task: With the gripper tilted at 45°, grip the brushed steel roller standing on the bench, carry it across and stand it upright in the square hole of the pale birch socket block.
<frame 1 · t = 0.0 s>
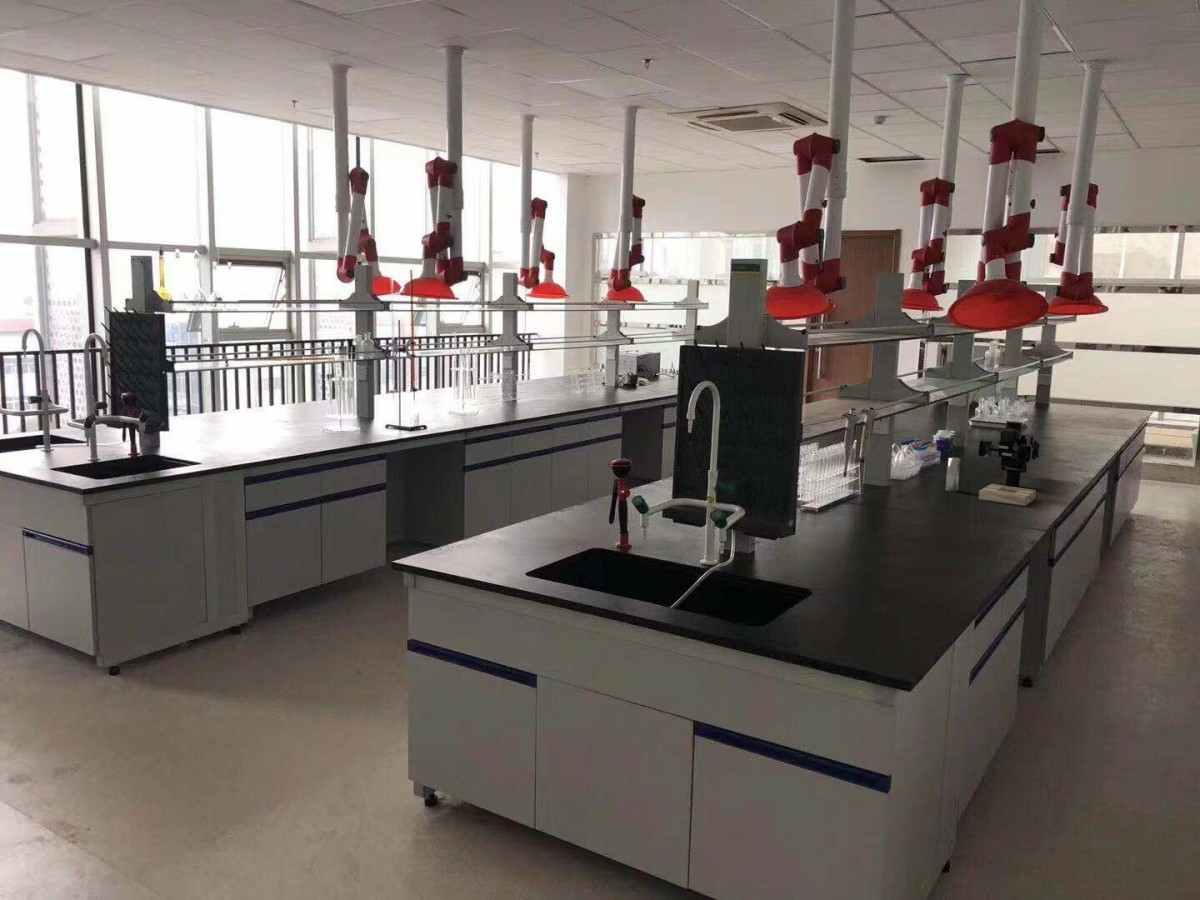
hand: (999, 453, 347), 16 cm above the worktop, fingers open, 9 cm apart
steel roller: (951, 490, 359), on the worktop
socket block: (1006, 499, 344), on the worktop
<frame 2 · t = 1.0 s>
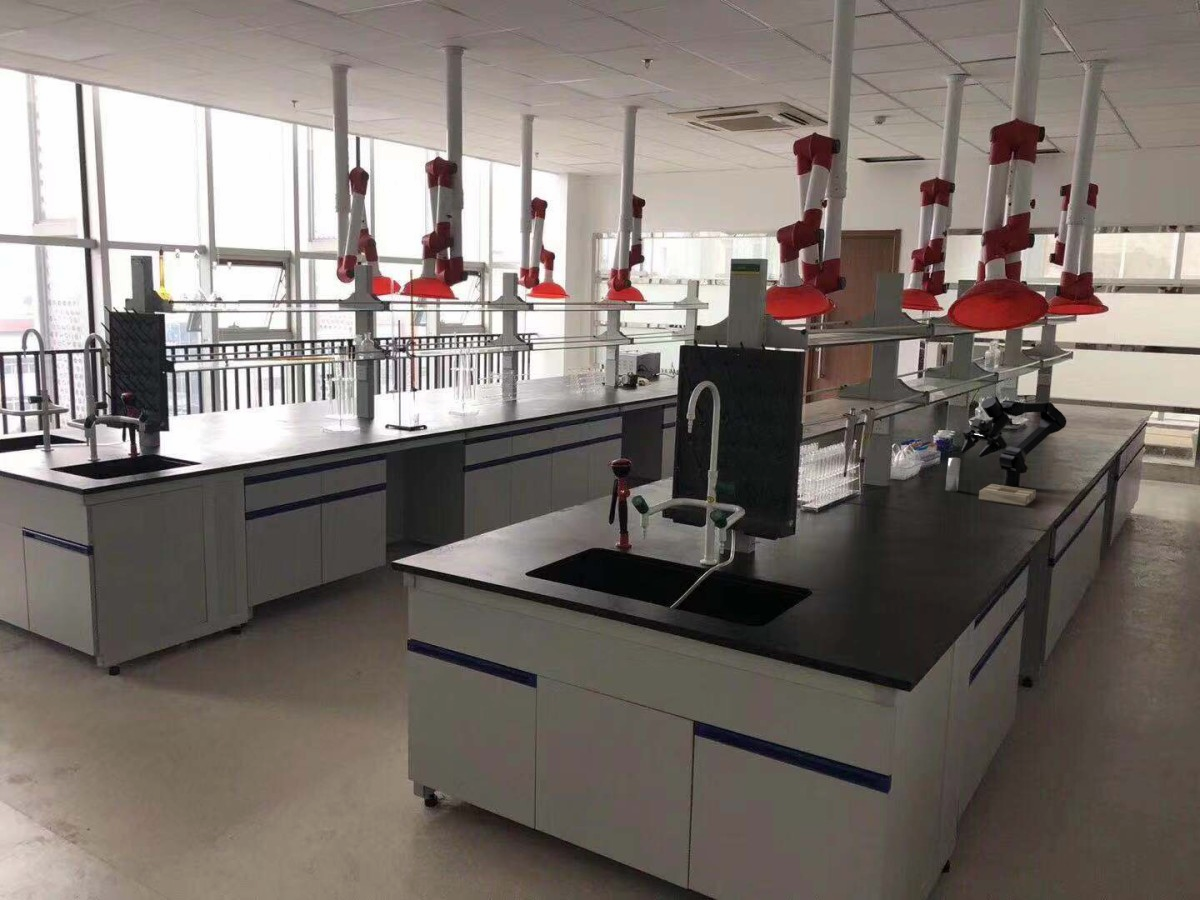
hand: (970, 454, 359), 14 cm above the worktop, fingers open, 9 cm apart
nothing on the worktop moved.
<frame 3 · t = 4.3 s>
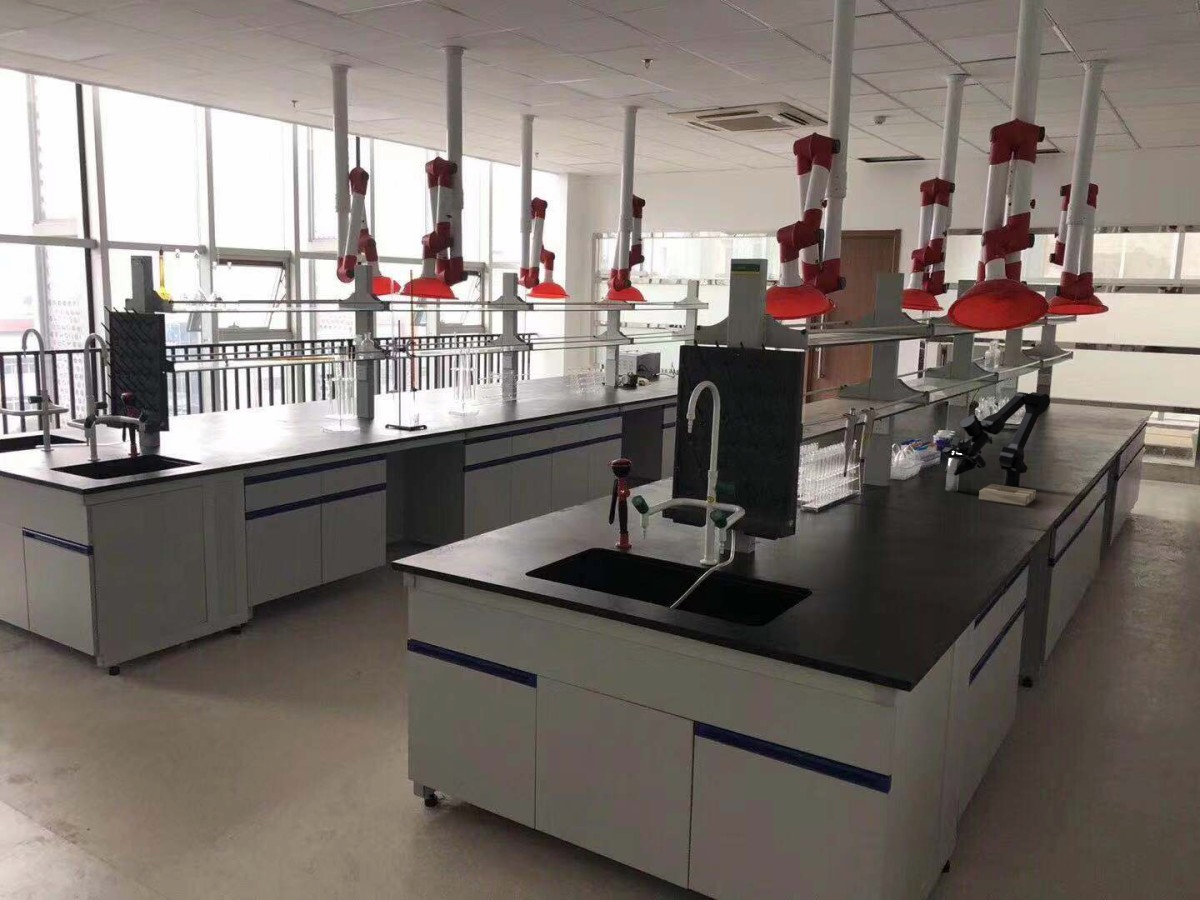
hand: (950, 473, 357), 7 cm above the worktop, fingers closed on steel roller, 4 cm apart
steel roller: (951, 490, 359), on the worktop, touching gripper
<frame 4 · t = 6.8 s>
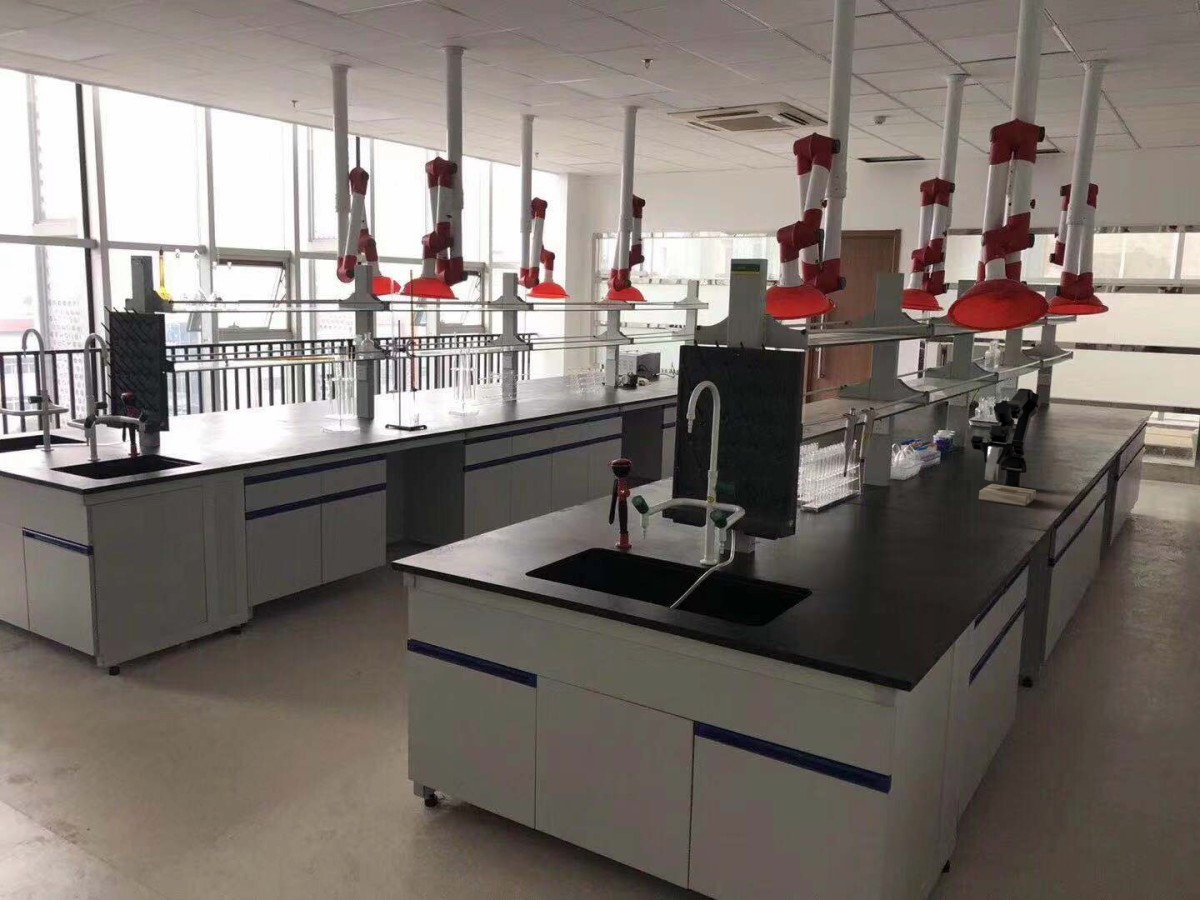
hand: (991, 462, 344), 13 cm above the worktop, fingers closed on steel roller, 4 cm apart
steel roller: (991, 479, 346), point 7 cm above the worktop, touching gripper
when the fingers open (8 cm above the worktop, at t = 9.5 s): steel roller drops 1 cm, resting on socket block.
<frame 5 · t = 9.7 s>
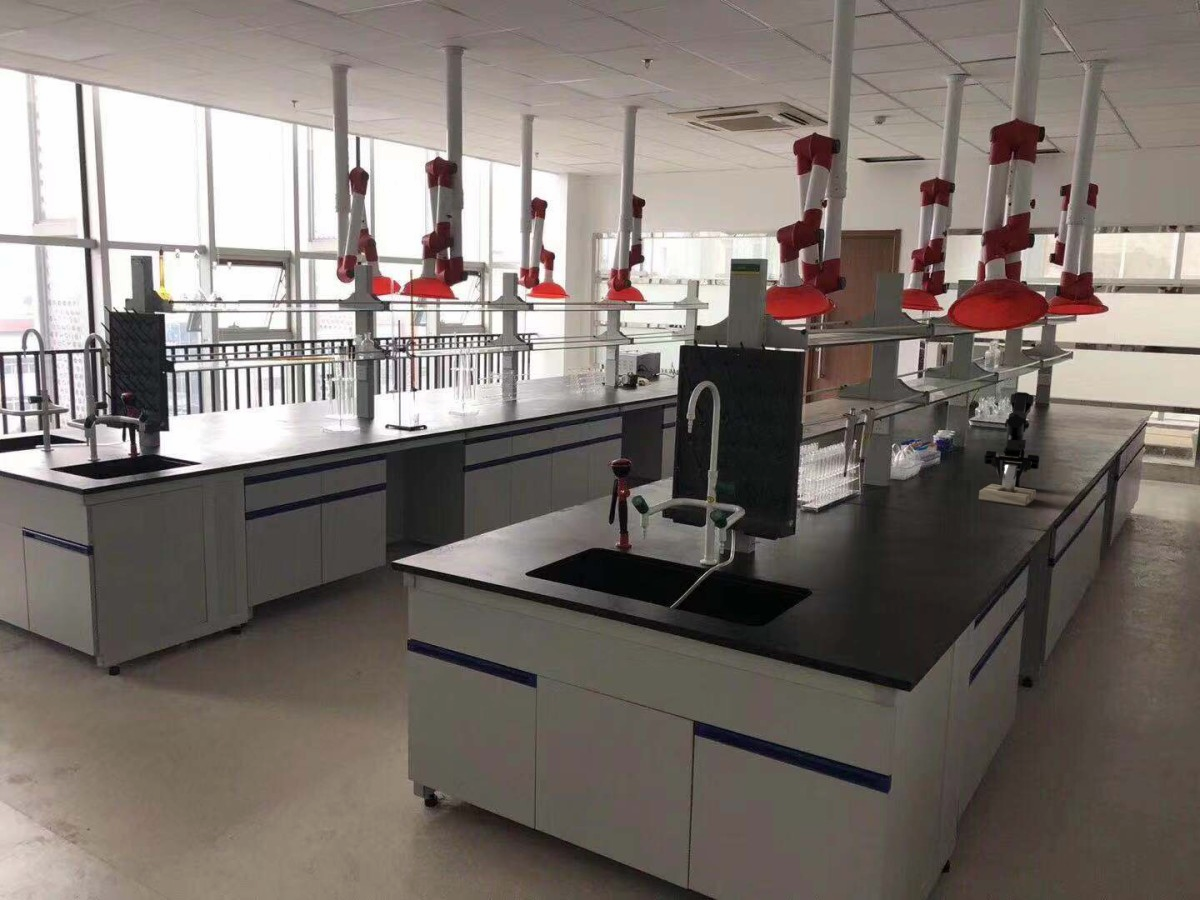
hand: (1008, 477, 342), 9 cm above the worktop, fingers open, 6 cm apart
steel roller: (1006, 498, 344), point 1 cm above the worktop, touching socket block
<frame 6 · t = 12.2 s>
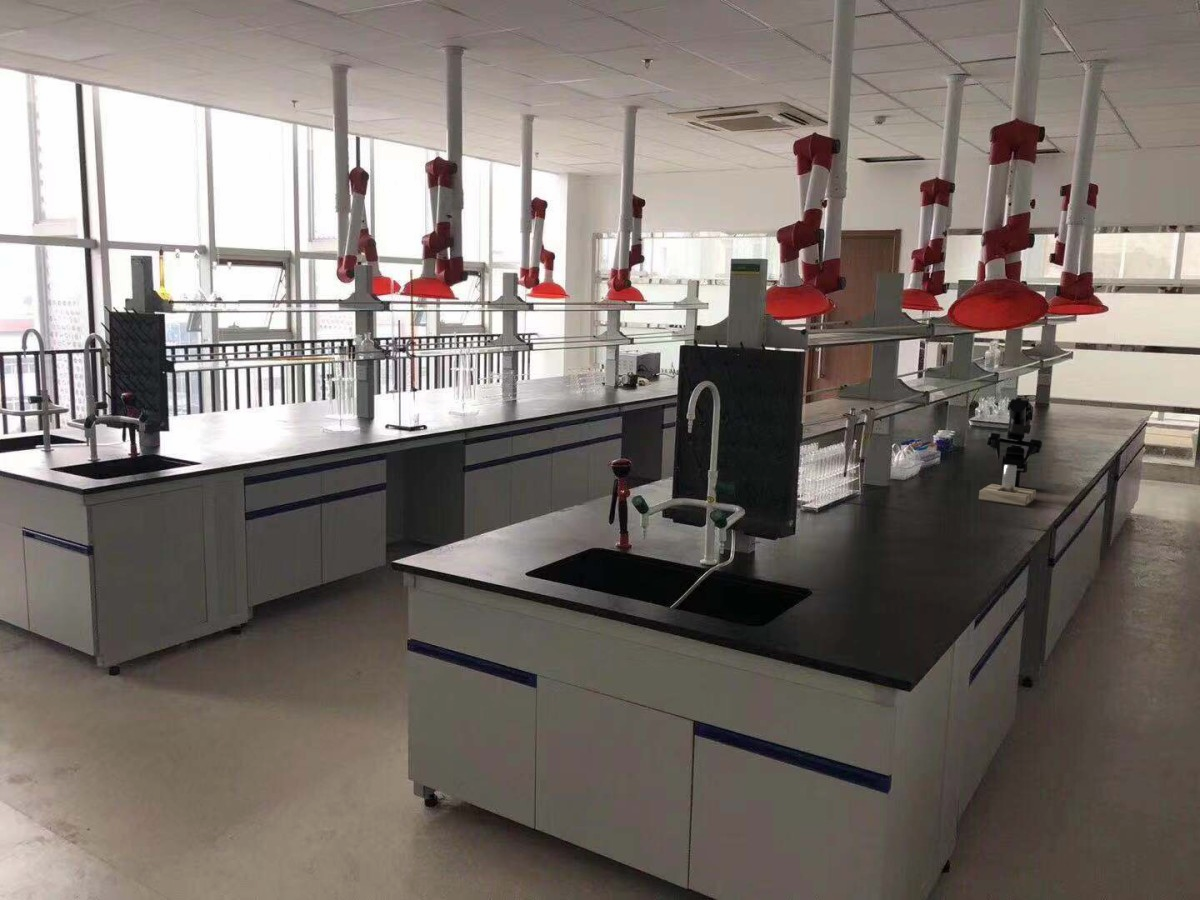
hand: (1011, 461, 348), 13 cm above the worktop, fingers open, 9 cm apart
nothing on the worktop moved.
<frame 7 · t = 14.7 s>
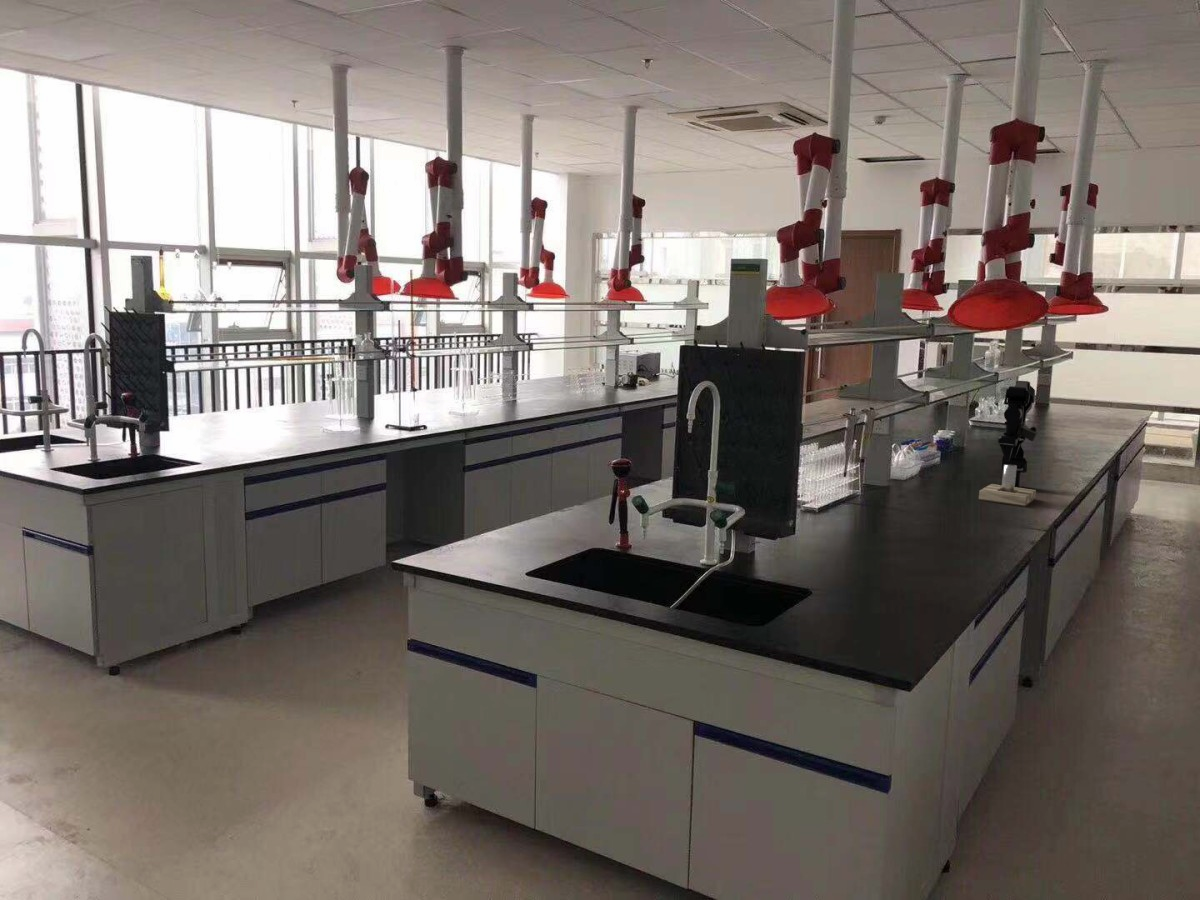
hand: (1010, 459, 354), 13 cm above the worktop, fingers open, 9 cm apart
nothing on the worktop moved.
at the end: steel roller 0.1 cm off-centre on the socket block, point 0.5 cm above the socket block's base; steel roller tilted 0°; the gripper is holding nothing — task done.
